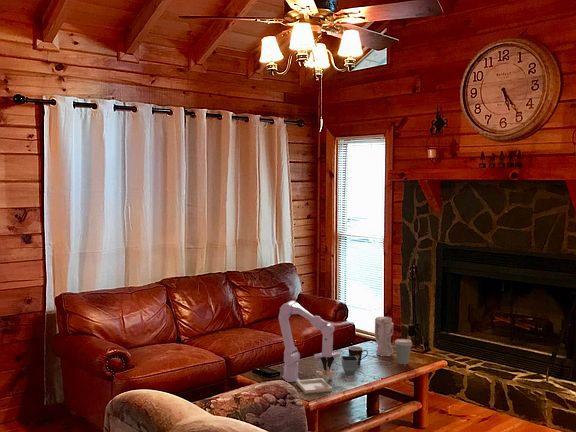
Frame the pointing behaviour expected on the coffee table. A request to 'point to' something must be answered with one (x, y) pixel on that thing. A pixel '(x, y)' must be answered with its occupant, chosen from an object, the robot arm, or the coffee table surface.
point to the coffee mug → (356, 352)
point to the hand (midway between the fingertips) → (326, 370)
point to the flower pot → (349, 364)
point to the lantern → (383, 335)
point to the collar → (324, 372)
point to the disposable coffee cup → (403, 350)
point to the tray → (314, 386)
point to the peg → (330, 378)
